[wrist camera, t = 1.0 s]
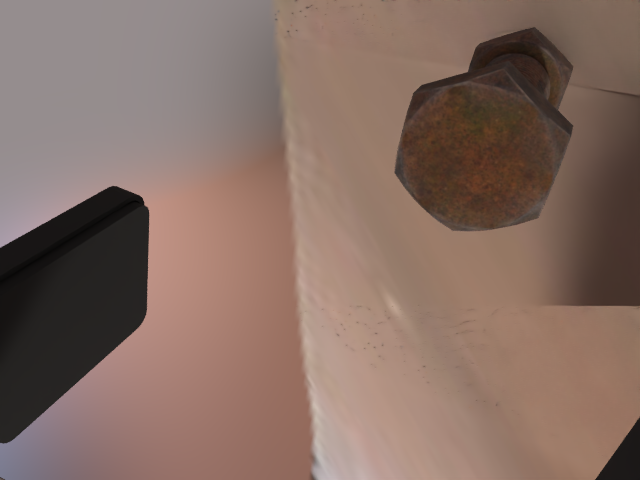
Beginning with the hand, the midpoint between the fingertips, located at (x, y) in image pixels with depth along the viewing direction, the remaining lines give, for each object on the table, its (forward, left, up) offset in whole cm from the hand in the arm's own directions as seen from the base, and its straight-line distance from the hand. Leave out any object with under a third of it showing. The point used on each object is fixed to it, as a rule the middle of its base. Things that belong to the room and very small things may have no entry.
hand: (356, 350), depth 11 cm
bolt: (0, 0, -26) cm, 26 cm away
